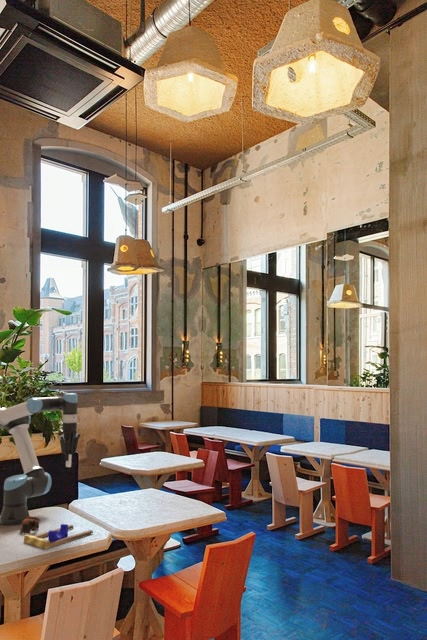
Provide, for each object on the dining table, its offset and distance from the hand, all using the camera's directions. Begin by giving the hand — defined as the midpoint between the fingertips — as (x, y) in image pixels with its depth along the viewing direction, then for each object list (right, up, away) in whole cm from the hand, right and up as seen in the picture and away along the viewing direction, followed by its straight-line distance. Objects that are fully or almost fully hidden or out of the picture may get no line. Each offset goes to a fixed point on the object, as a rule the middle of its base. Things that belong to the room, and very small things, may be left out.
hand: (68, 466), depth 274 cm
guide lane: (+4, -26, -28) cm, 38 cm away
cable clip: (+3, -26, -32) cm, 41 cm away
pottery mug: (-14, -28, -18) cm, 36 cm away
